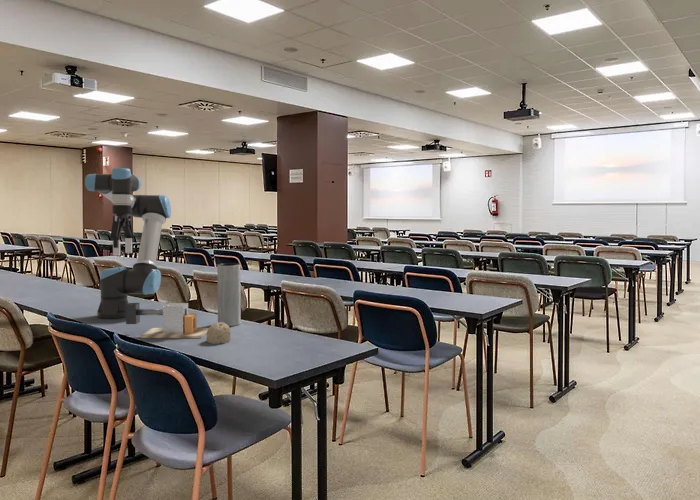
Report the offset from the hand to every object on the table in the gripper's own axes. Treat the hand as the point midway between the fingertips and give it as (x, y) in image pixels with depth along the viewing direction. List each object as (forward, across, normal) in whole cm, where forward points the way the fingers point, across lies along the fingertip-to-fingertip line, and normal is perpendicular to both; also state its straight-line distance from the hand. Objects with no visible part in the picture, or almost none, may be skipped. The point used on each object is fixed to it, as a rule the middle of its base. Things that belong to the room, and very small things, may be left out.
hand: (122, 254), depth 235 cm
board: (+32, +13, +26) cm, 43 cm away
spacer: (+27, +13, +32) cm, 44 cm away
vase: (+32, -7, +44) cm, 55 cm away
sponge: (+32, +25, +46) cm, 61 cm away
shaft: (+27, +13, +17) cm, 35 cm away
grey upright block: (+32, +13, +26) cm, 43 cm away
